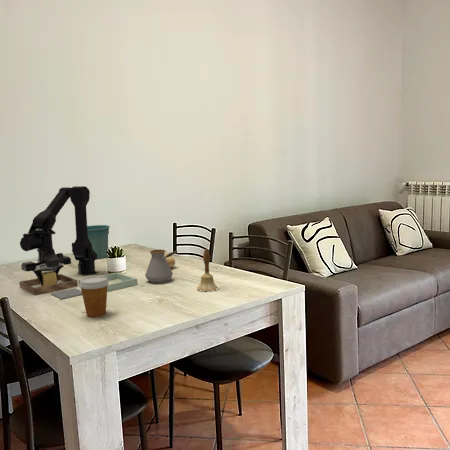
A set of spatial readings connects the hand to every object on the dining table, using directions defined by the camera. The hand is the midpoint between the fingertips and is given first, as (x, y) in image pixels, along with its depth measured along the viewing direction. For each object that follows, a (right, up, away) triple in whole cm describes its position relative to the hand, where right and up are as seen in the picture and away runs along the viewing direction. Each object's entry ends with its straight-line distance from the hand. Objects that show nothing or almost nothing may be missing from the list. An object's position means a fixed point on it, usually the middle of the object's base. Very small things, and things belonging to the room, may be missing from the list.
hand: (48, 283), depth 202 cm
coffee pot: (+48, 0, 0) cm, 48 cm away
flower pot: (+4, +7, +58) cm, 59 cm away
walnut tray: (0, -1, 0) cm, 1 cm away
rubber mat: (+12, -3, -12) cm, 17 cm away
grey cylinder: (-12, +3, +34) cm, 36 cm away
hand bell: (+66, -1, -11) cm, 67 cm away
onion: (+46, +4, +27) cm, 53 cm away
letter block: (0, -1, 0) cm, 1 cm away
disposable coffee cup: (+30, -6, -37) cm, 48 cm away
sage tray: (+25, -1, -1) cm, 25 cm away
